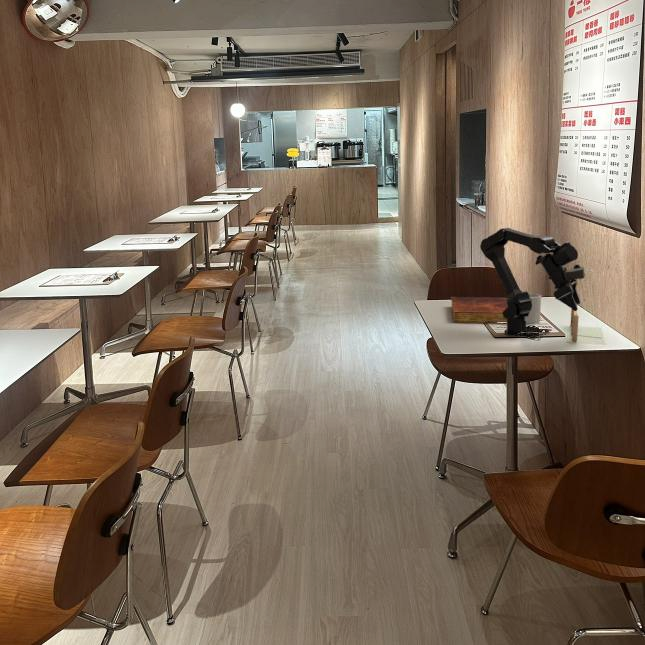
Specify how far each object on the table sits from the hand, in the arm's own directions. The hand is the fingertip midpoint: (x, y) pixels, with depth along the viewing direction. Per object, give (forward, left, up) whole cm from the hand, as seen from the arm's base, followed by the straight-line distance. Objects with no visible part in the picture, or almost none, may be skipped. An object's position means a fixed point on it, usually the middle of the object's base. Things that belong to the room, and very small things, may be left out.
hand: (577, 306), depth 287 cm
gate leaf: (0, +4, -13) cm, 13 cm away
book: (-30, +43, -14) cm, 54 cm away
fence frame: (+3, +17, -13) cm, 22 cm away
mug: (-12, +33, -14) cm, 38 cm away
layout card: (+5, +11, -13) cm, 18 cm away
